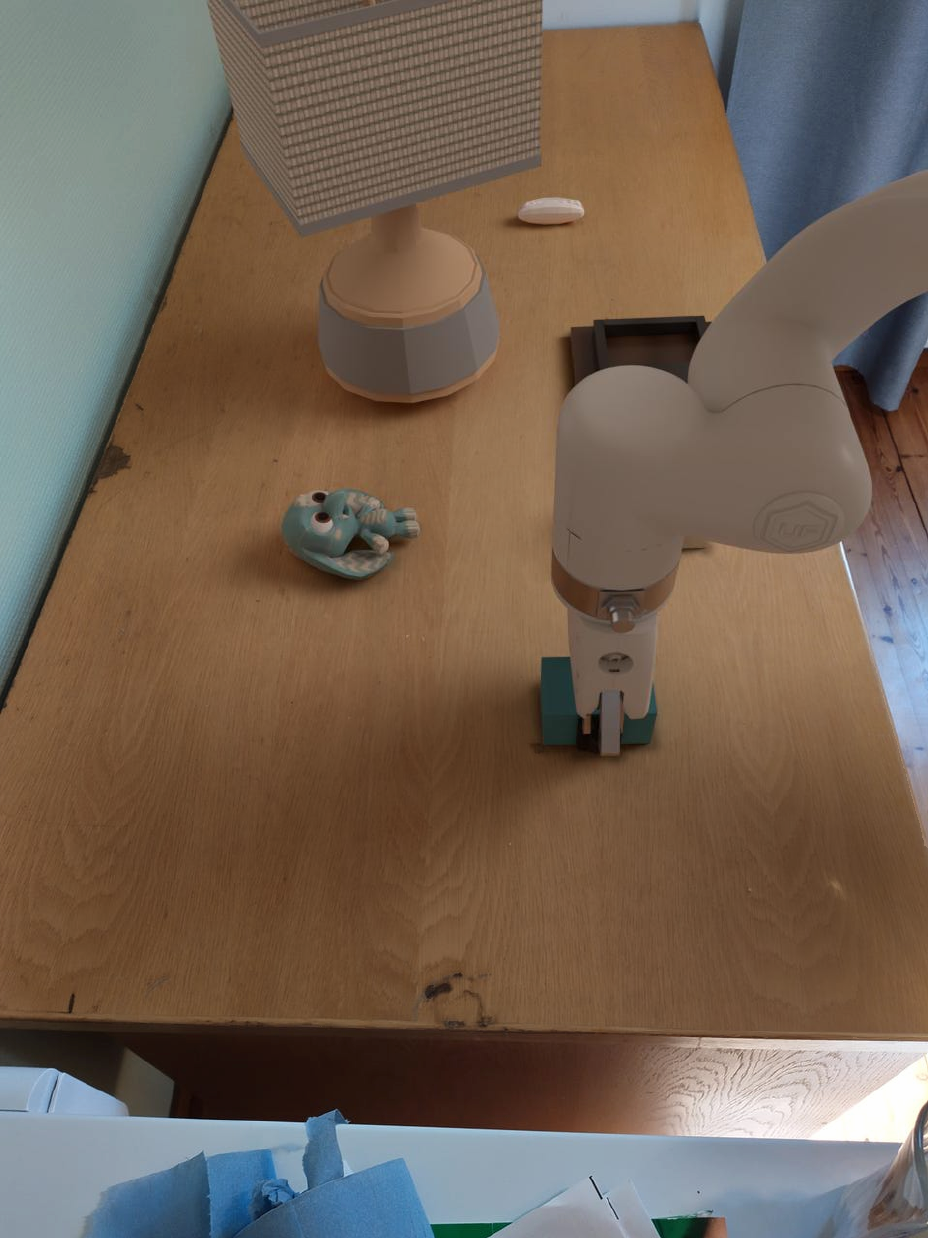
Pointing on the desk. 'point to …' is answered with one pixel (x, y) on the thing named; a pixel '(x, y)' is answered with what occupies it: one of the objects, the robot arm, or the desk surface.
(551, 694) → the teal pad
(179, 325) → the desk surface
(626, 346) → the back plate
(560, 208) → the white soap bar
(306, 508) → the stuffed animal
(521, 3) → the desk lamp
